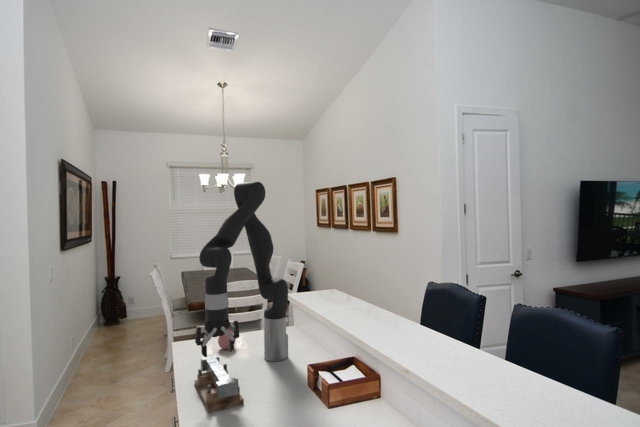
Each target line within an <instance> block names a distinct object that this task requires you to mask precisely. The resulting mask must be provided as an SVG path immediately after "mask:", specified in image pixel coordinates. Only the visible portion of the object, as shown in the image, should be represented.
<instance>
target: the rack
mask: <svg viewBox="0 0 640 427" xmlns="http://www.w3.org/2000/svg"><path fill="white" fill-rule="evenodd" d="M222 367H223V368H224V370H225V371H226V372H227V374H228V375H229V371H228V364H227V363H223V365H222ZM197 373H198V374H197V375H196V376H197V379H196V380H194V386H195V388H196V390H197V393H198V394H199V396H200V399H201V401H202V403H203V404H204V407H205V409H206V411H207V413H208V414H210V413H214V412H218V411H221V410H225V409H229V408H232V407H236V406H241V405H244V402H245V401H244V397H243V396H242V395H241V389H240V385H238V394H237V395H233V396H228V397H224V398H220V399H218V397H217V396H216V386H215V385H214V383H213V381H212V380H211V378H210V376H209V375H208V373H207V371H205V372H202V369H201V368H200V369H198V370H197ZM235 379H236V380H237V381H238V382H239V378H235Z"/></svg>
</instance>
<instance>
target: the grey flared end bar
mask: <svg viewBox="0 0 640 427" xmlns="http://www.w3.org/2000/svg"><path fill="white" fill-rule="evenodd" d="M200 369H202V373H204V372H207V373H208V375H209V376H210V378H211V380H212V381H213V383H214V385H215V386H216V396H217V397H218V399H220V398H224V397H228V396H233V395H237V394H238V386H239V380H238V381H237V380H236V379H237V378H236V377H233V378H232V377H230V375H229V373H228V374H227V372H226V371H225V370H224V368H223V365H222V364H221V362H220V356H219V355H218V354H213V355H207V357H204V356H202V357H200Z"/></svg>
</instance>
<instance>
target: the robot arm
mask: <svg viewBox="0 0 640 427" xmlns="http://www.w3.org/2000/svg"><path fill="white" fill-rule="evenodd" d="M233 195H234V201H235V204H236V206H237V209H236V210H235V211H234V212H232V214H230V215H229V216H227V218H226V219H225V220H224V221H223V223H222V225H221V226H220V227H219V229H218V231H217V233H216V234H215V235H214V236H213V237H212V238H211V239H210V240H209V241H208V242H207V243H206V244H205V245H204V246H203V247H202V249H201V251H200V253H199V263H200V264H201V266H202V267H205V268H213V269H215V272H214V274H209V275H208V276H207V277H205V298H204V304H205V305H204V307H205V309H204V312H205V323H204V325H196V326H195V332H194V333H195V336H194V337H195V339H194V343H195V344H196V346H199V347H200V346H201V347H200V348H201V349H200V350H201V352H200V353H201V356H202V357H207V356H208V347H207V344H208V342H209V341H210V340H212V338H217V337H219V336H223V335H224V334H226V335H227V336H228V338H229V349H228V351H229V353H232V352H233V351H234V350H235V344H234V340H235V341H236V339H239V338H240V328H239V320H237V319H235V318H234V319H233V320H230V319H229V318H230V317H229V305H230V304H229V297H228V296H229V294H228V276H229V272H230V268H231V264H232V253H231V251H230V248H232V247H234V245H235V244H236V242H237V240H238V238H239V236H240V234H241V232H242V231H243V229H245V233H246V235H247V240H248V244H249V247H250V252H251V256H252V258H253V263H254V268H255V272H256V273H255V274H256V277H257V285H258V290H259V293H260V296H261V297H262V298H263V299H264V300H268V301H272V304H271V307H268V308H266V309H264V312H263V335H264V336H263V338H264V339H263V343H264V344H263V346H264V347H263V349H264V351H263V352H264V354H263V355H264V356H263V357H264V360H266V361H267V362H279V361H283V360H285V359H287V358H289V335H288V334H287V312H288V311H287V310H288V307H289V306H288V304H289V299H288V298H289V286H288V283H287V280H286V279H285V280H284V278H283V279H282V278H276V277H273V275H272V273H271V272H272V271H271V269H270V264H271V260H272V257H273V255H274V244H273V240H272V236H271V233H270V231H269V230H268V229H267V227H266V226H265V225H264V223H263V222H262V221H261V220H260V219H259V218H258V217H257V215H256V212H257V210H259V207H261V205H262V204H263V202H264V201H265V198H266V188H265V185H264V184H263V183H262V182H260V181H246V182H240V183H237V184H235V187H234V188H233ZM230 327H232V328H233V329H232V330H233V335H231V334H230V333H229V332H228V331H227V329H228V328H229V329H230ZM204 330H205V331H206V333H205V334H204V336H203V338H202V333H203V331H204ZM201 338H202V339H201Z"/></svg>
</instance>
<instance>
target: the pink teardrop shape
mask: <svg viewBox="0 0 640 427" xmlns="http://www.w3.org/2000/svg"><path fill="white" fill-rule="evenodd" d="M227 331H228V332H229V333H230V334H231V335H233V334H234V332H232V330H230V327H229V328H228V329H227ZM235 343H236V339H235V340H234V345H235ZM217 344H218V346H219V348H221V349H224V350H226V349H227V350H229V338H228V336H227V335H226V334H224V335H223V336H218V340H217Z"/></svg>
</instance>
